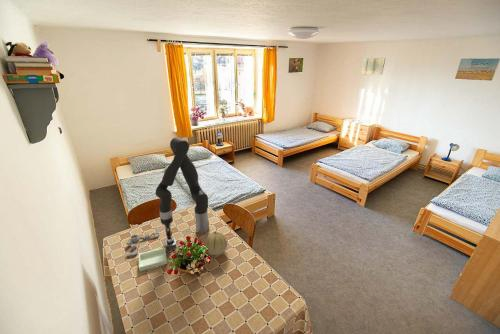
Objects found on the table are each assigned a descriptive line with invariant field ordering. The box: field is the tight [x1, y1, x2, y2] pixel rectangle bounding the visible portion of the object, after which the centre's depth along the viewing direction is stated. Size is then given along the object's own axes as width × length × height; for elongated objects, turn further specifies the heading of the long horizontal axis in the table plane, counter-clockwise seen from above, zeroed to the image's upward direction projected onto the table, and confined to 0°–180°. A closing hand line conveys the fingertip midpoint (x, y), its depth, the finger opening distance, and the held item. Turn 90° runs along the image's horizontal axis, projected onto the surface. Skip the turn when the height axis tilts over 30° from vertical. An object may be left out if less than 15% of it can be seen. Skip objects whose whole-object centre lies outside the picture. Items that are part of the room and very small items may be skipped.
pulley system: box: [125, 230, 160, 258], centre depth 169 cm, size 27×5×15 cm
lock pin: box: [165, 230, 174, 245], centre depth 166 cm, size 4×4×11 cm
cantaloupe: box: [204, 231, 228, 256], centre depth 160 cm, size 15×15×15 cm
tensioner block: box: [164, 237, 178, 251], centre depth 167 cm, size 7×7×3 cm
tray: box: [138, 246, 168, 272], centre depth 155 cm, size 16×12×3 cm
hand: (168, 235), depth 164 cm, fingers open, 8 cm apart
